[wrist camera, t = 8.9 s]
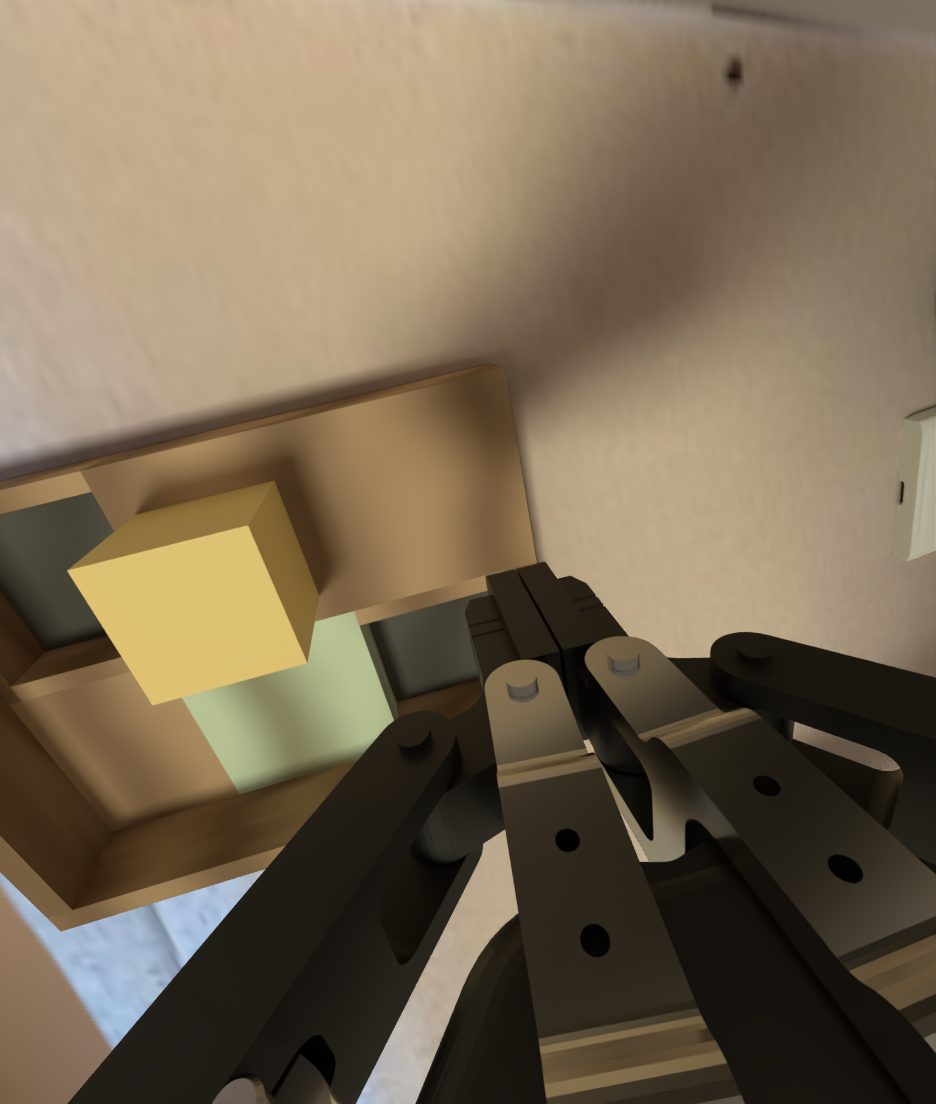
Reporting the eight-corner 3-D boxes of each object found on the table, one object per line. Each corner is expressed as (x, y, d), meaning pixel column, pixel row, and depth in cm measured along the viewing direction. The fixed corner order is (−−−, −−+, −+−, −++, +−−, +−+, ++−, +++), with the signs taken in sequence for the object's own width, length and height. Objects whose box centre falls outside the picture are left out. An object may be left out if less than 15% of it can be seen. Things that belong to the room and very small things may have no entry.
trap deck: (490, 363, 20) (533, 378, 15) (545, 683, 28) (588, 770, 22) (-106, 506, 19) (-298, 580, 13) (124, 806, 26) (60, 931, 21)
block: (274, 480, 18) (247, 525, 14) (319, 596, 20) (307, 663, 16) (135, 514, 18) (67, 570, 14) (196, 628, 20) (152, 705, 16)
